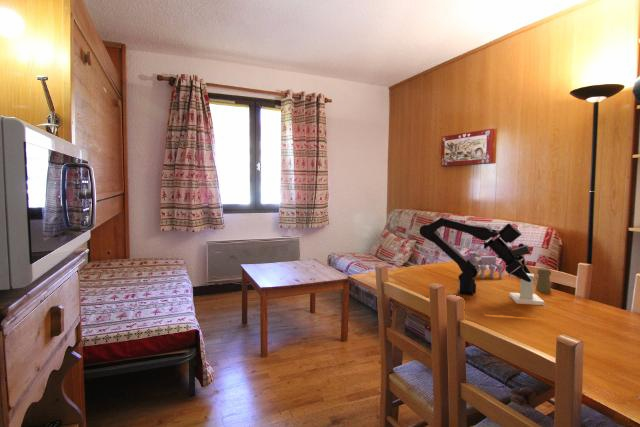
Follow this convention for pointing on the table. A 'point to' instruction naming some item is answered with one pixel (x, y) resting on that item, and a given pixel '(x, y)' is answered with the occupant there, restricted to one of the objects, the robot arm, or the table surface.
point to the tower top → (526, 299)
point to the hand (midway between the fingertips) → (530, 278)
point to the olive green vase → (543, 280)
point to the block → (527, 287)
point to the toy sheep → (485, 263)
